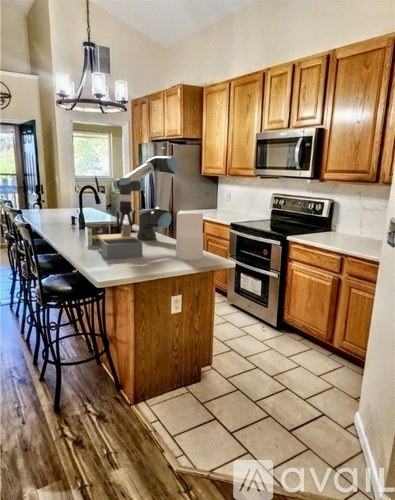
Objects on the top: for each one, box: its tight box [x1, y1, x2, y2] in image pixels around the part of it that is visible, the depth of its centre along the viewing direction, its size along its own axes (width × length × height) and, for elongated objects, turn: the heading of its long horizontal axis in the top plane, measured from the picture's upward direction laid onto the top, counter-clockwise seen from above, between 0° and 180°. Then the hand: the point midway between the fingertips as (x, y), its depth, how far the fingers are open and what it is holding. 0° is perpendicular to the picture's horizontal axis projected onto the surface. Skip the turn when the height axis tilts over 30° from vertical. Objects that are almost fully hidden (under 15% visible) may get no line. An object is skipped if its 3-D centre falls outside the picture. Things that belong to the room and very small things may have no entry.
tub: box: [100, 237, 143, 261], centre depth 221 cm, size 22×14×10 cm, turn 118°
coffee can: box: [86, 224, 103, 247], centre depth 251 cm, size 10×10×14 cm
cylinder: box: [175, 211, 205, 261], centre depth 225 cm, size 17×17×28 cm
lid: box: [97, 222, 137, 240], centre depth 237 cm, size 23×15×11 cm, turn 118°
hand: (125, 235), depth 240 cm, fingers closed on lid, 4 cm apart
